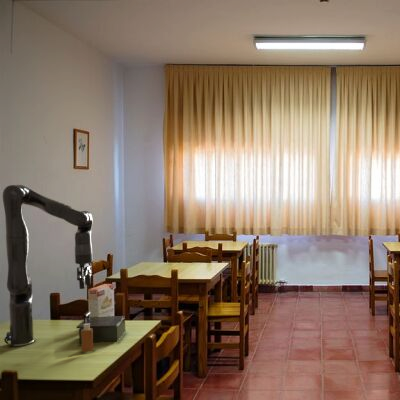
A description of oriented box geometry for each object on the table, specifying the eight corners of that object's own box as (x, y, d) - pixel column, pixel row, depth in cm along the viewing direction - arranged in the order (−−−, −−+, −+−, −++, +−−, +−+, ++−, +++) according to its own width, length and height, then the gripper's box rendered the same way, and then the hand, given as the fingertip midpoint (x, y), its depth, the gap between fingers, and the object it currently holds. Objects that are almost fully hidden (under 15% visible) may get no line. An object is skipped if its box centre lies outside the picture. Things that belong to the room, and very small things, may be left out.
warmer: (79, 346, 231) (78, 329, 230) (89, 335, 246) (89, 319, 246) (117, 343, 233) (116, 326, 233) (125, 333, 249) (124, 317, 249)
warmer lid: (76, 328, 230) (76, 317, 230) (86, 318, 246) (86, 308, 246) (116, 326, 233) (116, 316, 233) (124, 317, 249) (124, 307, 248)
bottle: (82, 354, 220) (81, 326, 219) (81, 351, 224) (80, 323, 223) (93, 352, 222) (92, 324, 222) (92, 349, 226) (91, 322, 226)
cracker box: (99, 330, 255) (97, 289, 254) (88, 329, 256) (87, 289, 255) (115, 322, 269) (114, 283, 268) (105, 321, 270) (104, 283, 269)
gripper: (80, 251, 243) (81, 284, 244) (70, 255, 229) (71, 290, 230) (96, 250, 244) (97, 283, 245) (87, 254, 230) (88, 289, 231)
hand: (85, 286), depth 238 cm, fingers open, 8 cm apart
